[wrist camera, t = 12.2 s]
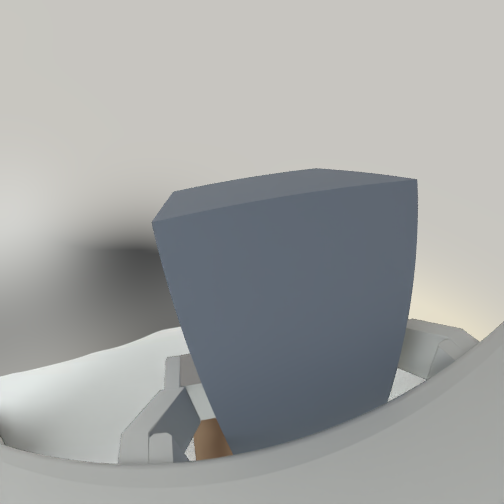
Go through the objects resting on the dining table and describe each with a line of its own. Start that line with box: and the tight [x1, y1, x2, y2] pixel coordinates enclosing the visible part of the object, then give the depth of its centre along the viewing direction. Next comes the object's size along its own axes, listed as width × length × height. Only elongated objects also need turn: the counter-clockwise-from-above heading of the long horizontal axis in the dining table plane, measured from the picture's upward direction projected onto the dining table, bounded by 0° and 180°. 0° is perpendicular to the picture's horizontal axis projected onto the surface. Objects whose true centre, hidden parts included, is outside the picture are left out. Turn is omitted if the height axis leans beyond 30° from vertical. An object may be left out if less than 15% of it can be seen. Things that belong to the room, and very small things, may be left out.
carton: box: [152, 168, 418, 455], centre depth 9 cm, size 5×5×13 cm
